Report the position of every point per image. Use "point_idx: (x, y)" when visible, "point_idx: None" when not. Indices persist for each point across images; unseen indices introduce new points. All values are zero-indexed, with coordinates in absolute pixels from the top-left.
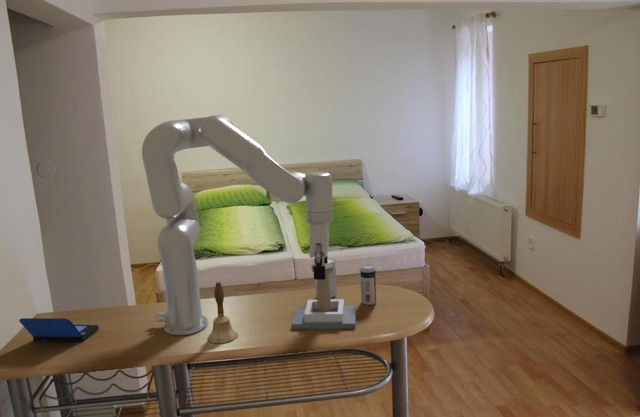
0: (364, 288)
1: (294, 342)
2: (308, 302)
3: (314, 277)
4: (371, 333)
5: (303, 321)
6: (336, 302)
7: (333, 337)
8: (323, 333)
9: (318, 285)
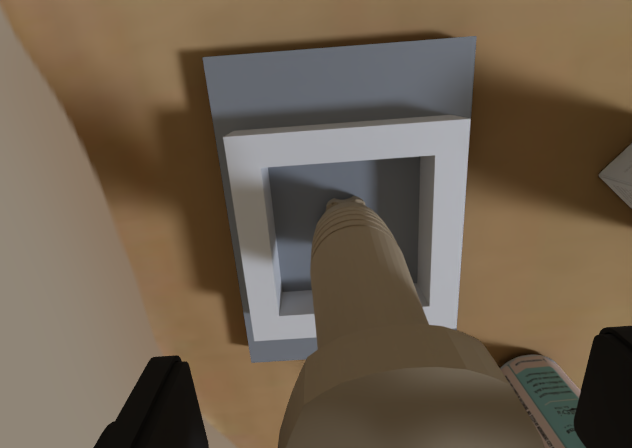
0: (540, 435)
1: (64, 105)
2: (421, 130)
3: (147, 375)
4: (218, 400)
5: (247, 121)
6: (428, 289)
7: (157, 274)
8: (188, 228)
9: (331, 292)
